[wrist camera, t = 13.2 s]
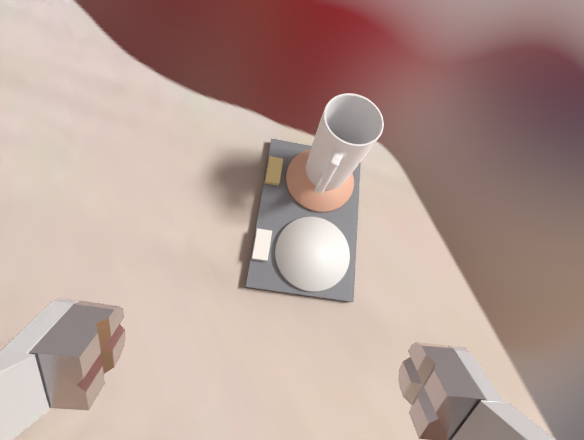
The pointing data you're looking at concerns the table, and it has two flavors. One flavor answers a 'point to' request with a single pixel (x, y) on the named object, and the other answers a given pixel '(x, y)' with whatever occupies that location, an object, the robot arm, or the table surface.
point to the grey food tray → (304, 230)
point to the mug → (342, 140)
